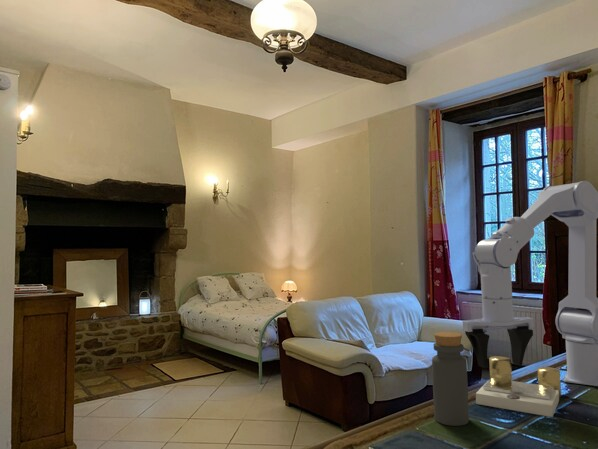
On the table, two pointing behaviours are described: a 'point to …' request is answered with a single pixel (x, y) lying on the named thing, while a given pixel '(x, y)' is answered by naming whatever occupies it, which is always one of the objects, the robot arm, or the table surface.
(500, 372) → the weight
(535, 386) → the scale pan
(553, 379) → the cylinder
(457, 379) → the bottle
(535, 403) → the scale
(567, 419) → the table surface
